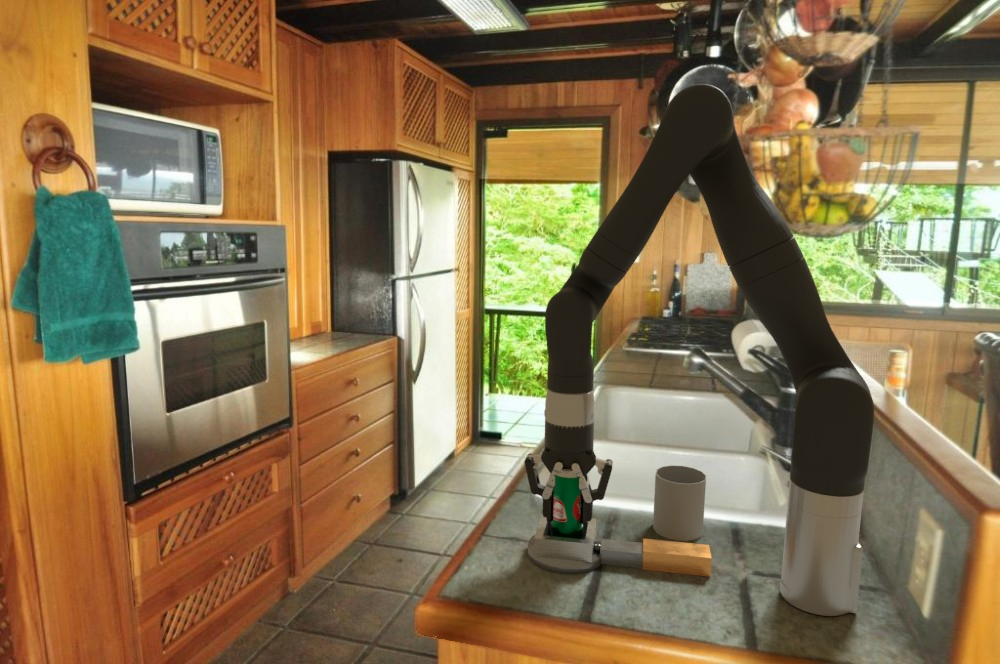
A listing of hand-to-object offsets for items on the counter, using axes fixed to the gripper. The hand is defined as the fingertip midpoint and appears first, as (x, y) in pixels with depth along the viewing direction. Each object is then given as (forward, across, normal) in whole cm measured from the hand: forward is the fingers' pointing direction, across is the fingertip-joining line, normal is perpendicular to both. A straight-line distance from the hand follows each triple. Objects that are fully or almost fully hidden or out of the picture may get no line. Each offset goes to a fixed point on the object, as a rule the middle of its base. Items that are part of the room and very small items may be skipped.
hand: (567, 520), depth 108 cm
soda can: (+3, 0, 0) cm, 3 cm away
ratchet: (+6, -8, 0) cm, 10 cm away
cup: (+6, -18, -13) cm, 23 cm away
